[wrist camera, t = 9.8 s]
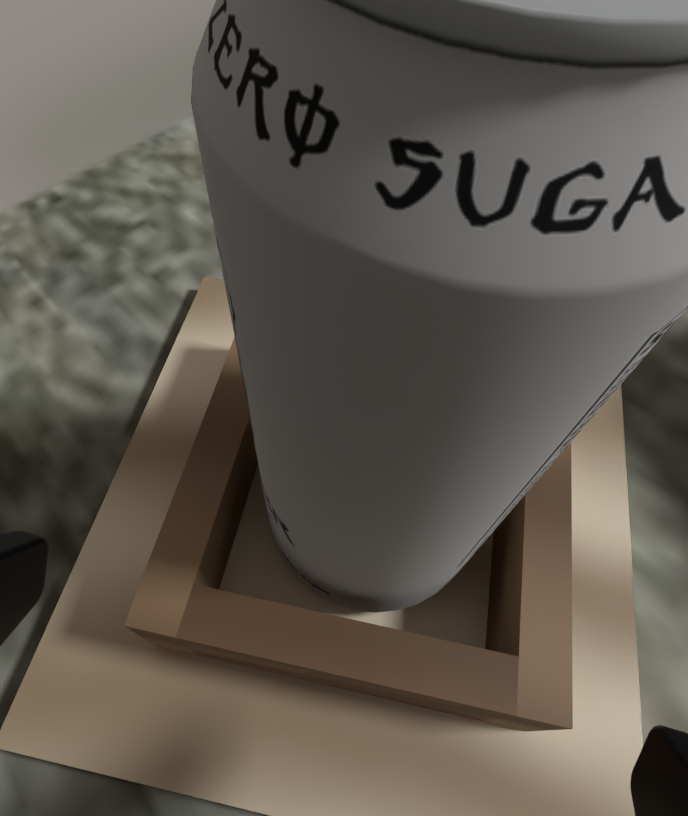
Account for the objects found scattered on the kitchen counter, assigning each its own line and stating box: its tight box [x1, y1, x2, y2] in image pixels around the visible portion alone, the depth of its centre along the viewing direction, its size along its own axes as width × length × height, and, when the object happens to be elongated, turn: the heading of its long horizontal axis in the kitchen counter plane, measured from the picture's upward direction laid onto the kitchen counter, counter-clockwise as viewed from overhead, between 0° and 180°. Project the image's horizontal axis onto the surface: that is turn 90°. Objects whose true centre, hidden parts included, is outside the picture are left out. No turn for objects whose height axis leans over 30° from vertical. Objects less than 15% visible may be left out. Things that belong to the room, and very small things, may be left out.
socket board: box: [0, 276, 643, 816], centre depth 17 cm, size 16×16×4 cm
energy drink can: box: [191, 0, 688, 613], centre depth 11 cm, size 6×6×15 cm
